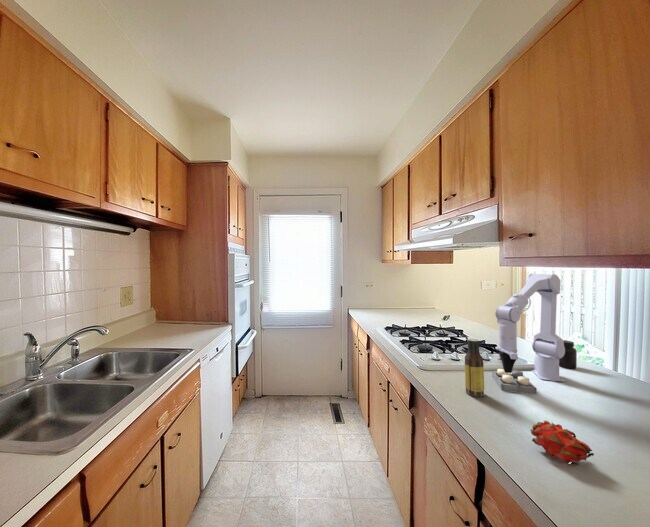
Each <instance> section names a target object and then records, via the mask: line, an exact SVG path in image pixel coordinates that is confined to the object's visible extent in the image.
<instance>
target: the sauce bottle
mask: <svg viewBox="0 0 650 527" xmlns="http://www.w3.org/2000/svg"><path fill="white" fill-rule="evenodd" d="M466 342H467V352H466V354H465V356H464V382H465V384H464V386H465V393H466V394H467V395H469V396H471V397H476V398H479V397H484V395H485V368H484V366H485V364H484V359H483V357H482V355H481V354H480V343H481V342H480V340H479V339H477V338H467V339H466Z"/></svg>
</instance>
